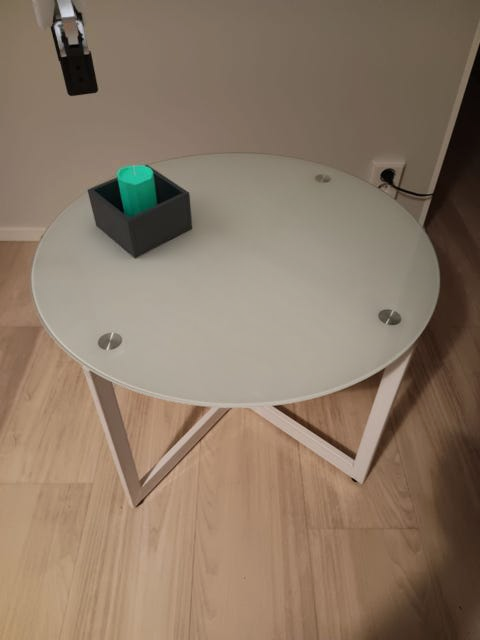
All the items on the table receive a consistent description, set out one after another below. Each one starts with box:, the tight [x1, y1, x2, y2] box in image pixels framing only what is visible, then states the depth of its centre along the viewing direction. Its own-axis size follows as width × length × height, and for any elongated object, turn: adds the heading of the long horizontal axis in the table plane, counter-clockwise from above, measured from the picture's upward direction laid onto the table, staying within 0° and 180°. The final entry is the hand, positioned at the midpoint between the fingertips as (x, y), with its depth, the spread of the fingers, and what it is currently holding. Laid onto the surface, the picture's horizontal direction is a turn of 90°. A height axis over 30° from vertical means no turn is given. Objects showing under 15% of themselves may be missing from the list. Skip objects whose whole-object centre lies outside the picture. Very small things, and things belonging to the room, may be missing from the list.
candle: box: [116, 164, 157, 218], centre depth 88 cm, size 6×6×12 cm
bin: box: [87, 164, 193, 259], centre depth 90 cm, size 13×13×8 cm
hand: (77, 76), depth 57 cm, fingers open, 9 cm apart
